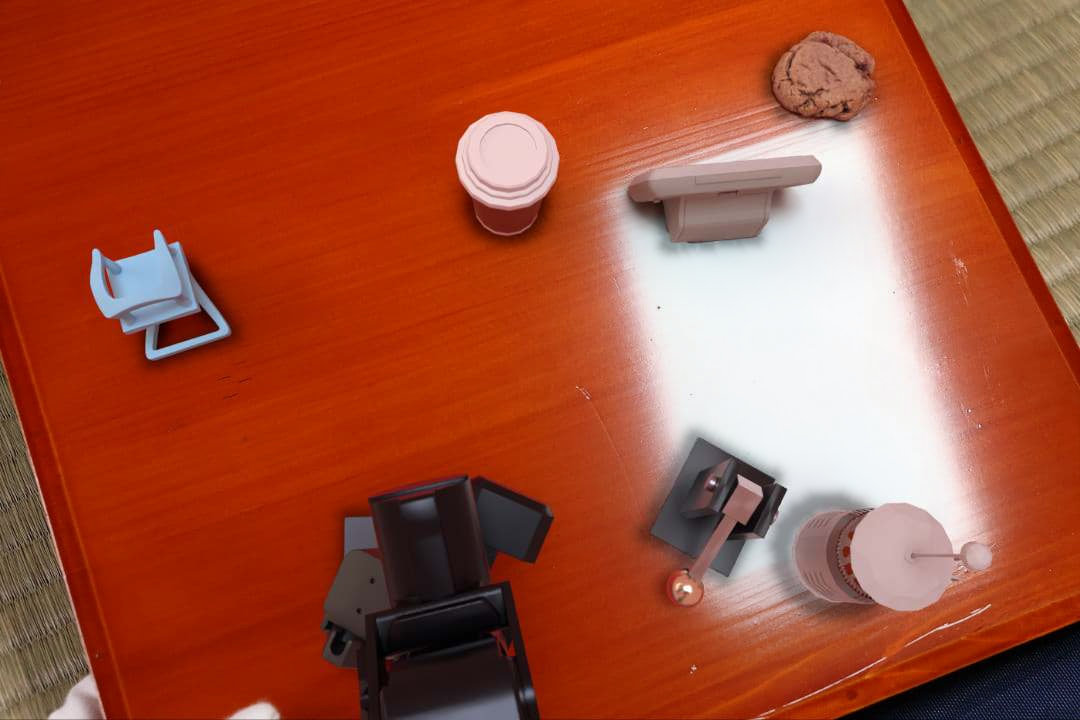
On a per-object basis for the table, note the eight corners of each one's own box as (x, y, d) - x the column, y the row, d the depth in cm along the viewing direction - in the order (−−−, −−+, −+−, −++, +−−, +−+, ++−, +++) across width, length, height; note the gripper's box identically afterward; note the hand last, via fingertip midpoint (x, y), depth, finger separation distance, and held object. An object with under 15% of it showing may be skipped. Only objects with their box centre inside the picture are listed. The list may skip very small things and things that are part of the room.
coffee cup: (459, 163, 86) (453, 101, 74) (550, 161, 87) (558, 100, 75) (461, 249, 84) (455, 200, 72) (554, 247, 85) (563, 198, 73)
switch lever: (693, 604, 74) (693, 622, 70) (660, 585, 74) (658, 602, 71) (766, 488, 71) (769, 501, 68) (731, 469, 71) (733, 481, 68)
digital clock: (787, 172, 88) (826, 121, 77) (785, 256, 86) (824, 215, 75) (628, 156, 87) (645, 102, 77) (622, 240, 85) (639, 197, 75)
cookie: (752, 65, 90) (761, 49, 87) (837, 25, 92) (848, 8, 89) (802, 144, 88) (813, 130, 85) (888, 101, 90) (901, 86, 87)
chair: (209, 256, 83) (161, 207, 71) (232, 335, 81) (187, 299, 69) (129, 281, 82) (67, 236, 70) (151, 362, 80) (91, 329, 69)
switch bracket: (724, 576, 78) (765, 581, 66) (647, 533, 79) (673, 529, 67) (771, 480, 81) (819, 467, 69) (696, 438, 81) (730, 418, 69)
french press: (786, 493, 80) (912, 466, 56) (909, 514, 80) (1088, 496, 56) (776, 601, 78) (902, 622, 54) (902, 622, 78) (1085, 653, 54)
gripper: (396, 449, 51) (412, 438, 66) (262, 751, 49) (310, 667, 65) (569, 523, 51) (545, 495, 67) (441, 823, 50) (447, 723, 66)
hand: (459, 592), depth 66 cm, fingers open, 9 cm apart
